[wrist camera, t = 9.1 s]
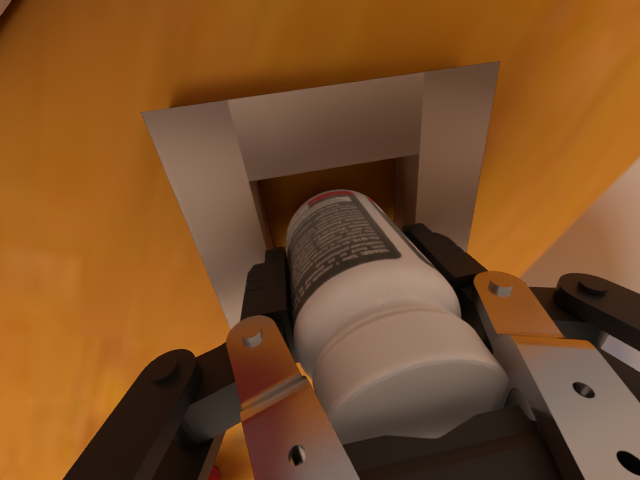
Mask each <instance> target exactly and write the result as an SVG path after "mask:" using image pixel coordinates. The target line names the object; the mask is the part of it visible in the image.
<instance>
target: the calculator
mask: <svg viewBox="0 0 640 480" xmlns="http://www.w3.org/2000/svg"><path fill="white" fill-rule="evenodd" d="M11 1H12V0H0V16H1V14H2V13H3V12H4V10H5V9H6V8H7V6H8V5H9V3H10V2H11Z"/></svg>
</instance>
